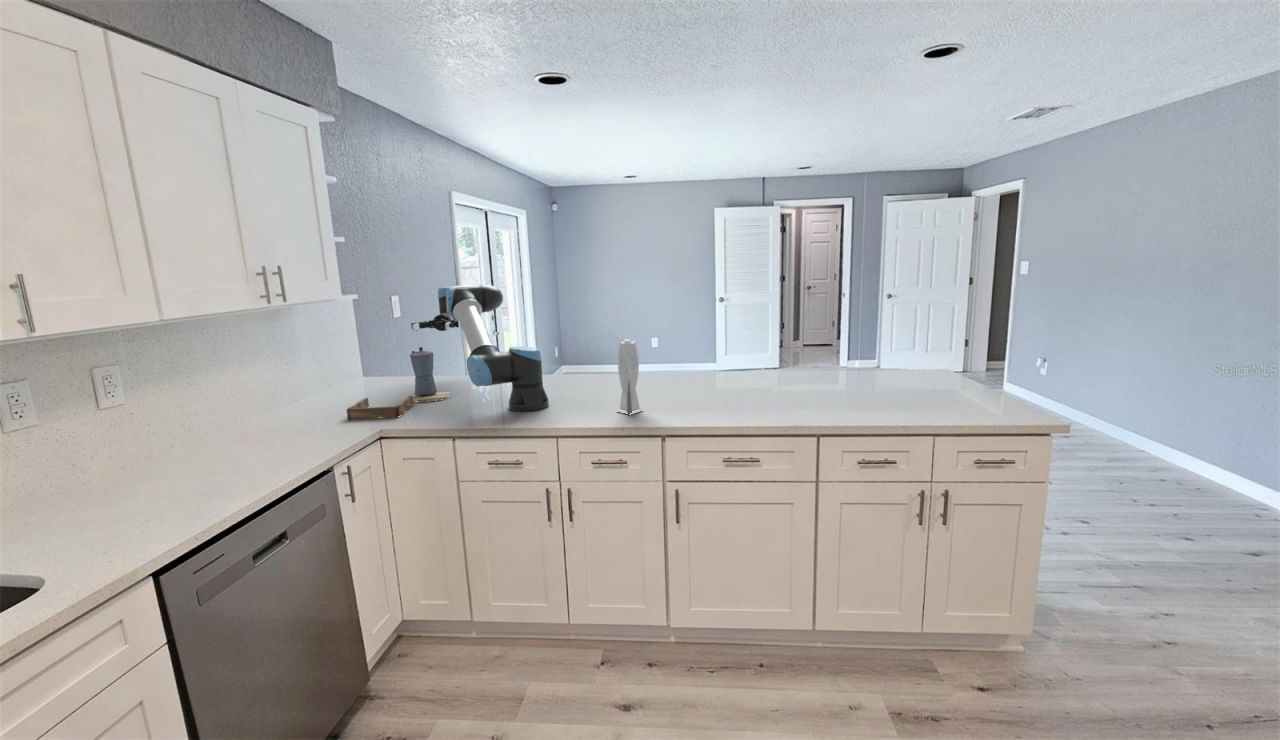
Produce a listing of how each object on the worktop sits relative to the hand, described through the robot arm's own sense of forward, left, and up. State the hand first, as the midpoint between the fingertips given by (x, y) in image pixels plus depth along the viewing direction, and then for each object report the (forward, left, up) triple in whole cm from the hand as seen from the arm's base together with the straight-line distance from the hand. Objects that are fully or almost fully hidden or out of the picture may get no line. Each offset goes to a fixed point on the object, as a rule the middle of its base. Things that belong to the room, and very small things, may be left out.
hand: (429, 327), depth 240 cm
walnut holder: (-21, +24, -29) cm, 43 cm away
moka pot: (-4, +5, -28) cm, 28 cm away
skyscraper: (-74, -55, -29) cm, 97 cm away
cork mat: (-8, +4, -29) cm, 30 cm away
